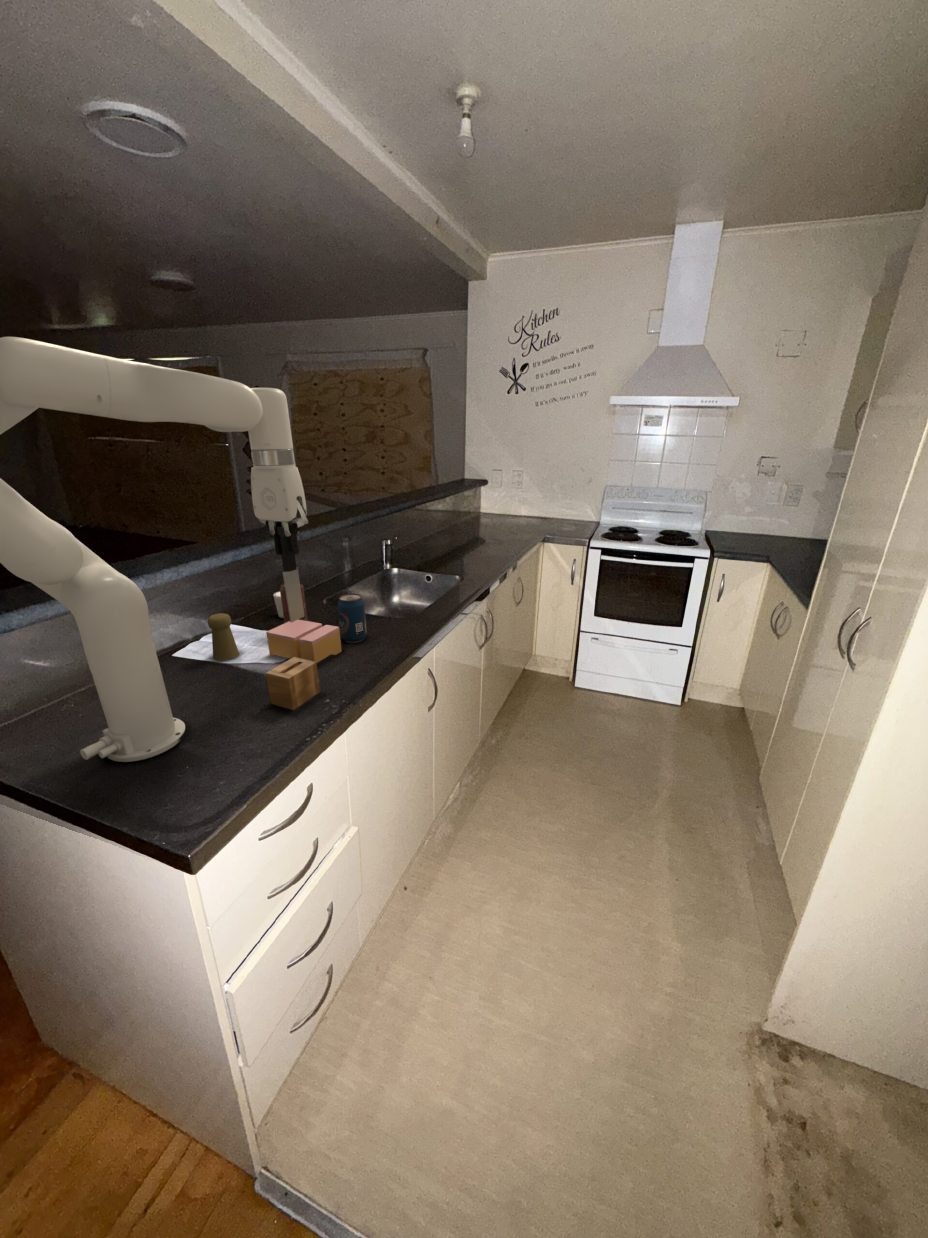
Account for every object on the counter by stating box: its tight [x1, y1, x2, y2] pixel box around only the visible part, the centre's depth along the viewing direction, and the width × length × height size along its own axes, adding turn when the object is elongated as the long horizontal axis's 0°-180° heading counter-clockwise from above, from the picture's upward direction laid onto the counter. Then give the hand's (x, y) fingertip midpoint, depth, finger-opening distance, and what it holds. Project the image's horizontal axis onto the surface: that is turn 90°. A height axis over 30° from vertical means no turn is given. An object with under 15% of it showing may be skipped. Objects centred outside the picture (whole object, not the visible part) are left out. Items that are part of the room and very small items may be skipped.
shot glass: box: [272, 591, 284, 619], centre depth 148 cm, size 7×7×7 cm
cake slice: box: [299, 624, 342, 664], centre depth 119 cm, size 10×4×7 cm, turn 155°
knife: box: [277, 526, 304, 623], centre depth 101 cm, size 4×2×20 cm, turn 155°
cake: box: [265, 619, 323, 659], centre depth 122 cm, size 10×9×7 cm
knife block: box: [265, 657, 321, 711], centre depth 100 cm, size 8×6×8 cm
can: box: [279, 582, 309, 624], centre depth 134 cm, size 6×6×14 cm
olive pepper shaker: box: [207, 612, 240, 662], centre depth 120 cm, size 6×6×11 cm
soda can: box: [337, 593, 368, 644], centre depth 129 cm, size 7×7×12 cm
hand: (287, 553), depth 99 cm, fingers closed on knife, 1 cm apart
